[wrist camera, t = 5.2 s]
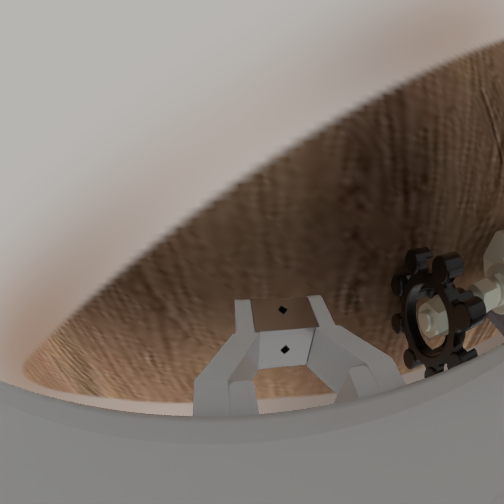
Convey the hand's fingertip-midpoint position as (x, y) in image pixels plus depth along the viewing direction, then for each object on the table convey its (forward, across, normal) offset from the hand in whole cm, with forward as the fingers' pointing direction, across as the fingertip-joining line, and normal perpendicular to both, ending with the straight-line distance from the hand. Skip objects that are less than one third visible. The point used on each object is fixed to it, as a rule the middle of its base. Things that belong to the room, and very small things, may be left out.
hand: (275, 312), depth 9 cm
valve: (+3, -13, 0) cm, 13 cm away
